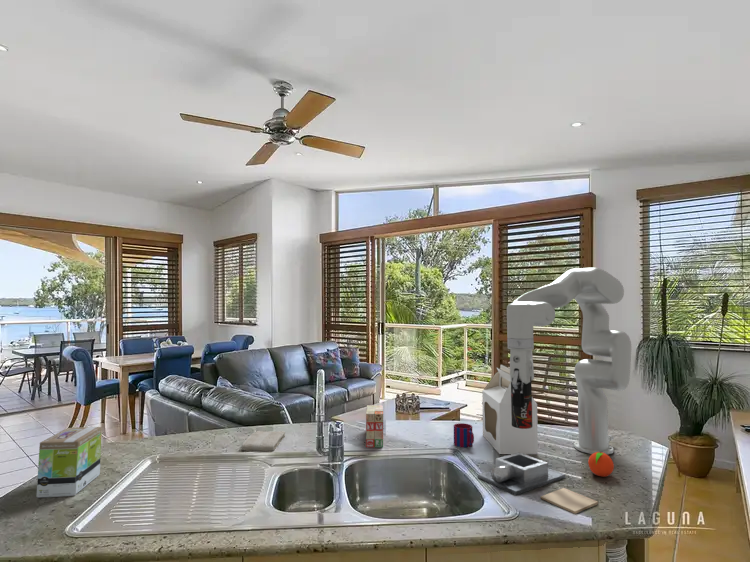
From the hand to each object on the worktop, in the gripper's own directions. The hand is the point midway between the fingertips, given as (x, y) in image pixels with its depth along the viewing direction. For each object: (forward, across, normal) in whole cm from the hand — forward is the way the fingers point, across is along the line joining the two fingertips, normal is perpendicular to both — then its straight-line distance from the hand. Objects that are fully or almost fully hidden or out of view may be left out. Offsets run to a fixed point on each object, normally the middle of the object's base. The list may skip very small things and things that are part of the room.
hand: (521, 403), depth 134 cm
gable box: (+23, +28, +12) cm, 38 cm away
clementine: (+22, +13, -19) cm, 32 cm away
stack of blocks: (+22, +7, +57) cm, 62 cm away
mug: (+22, +17, +25) cm, 38 cm away
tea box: (+20, -76, +107) cm, 133 cm away
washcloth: (+22, -19, +88) cm, 93 cm away
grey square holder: (+22, -1, 0) cm, 22 cm away
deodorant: (+7, 0, 0) cm, 7 cm away
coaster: (+22, -10, -14) cm, 28 cm away
